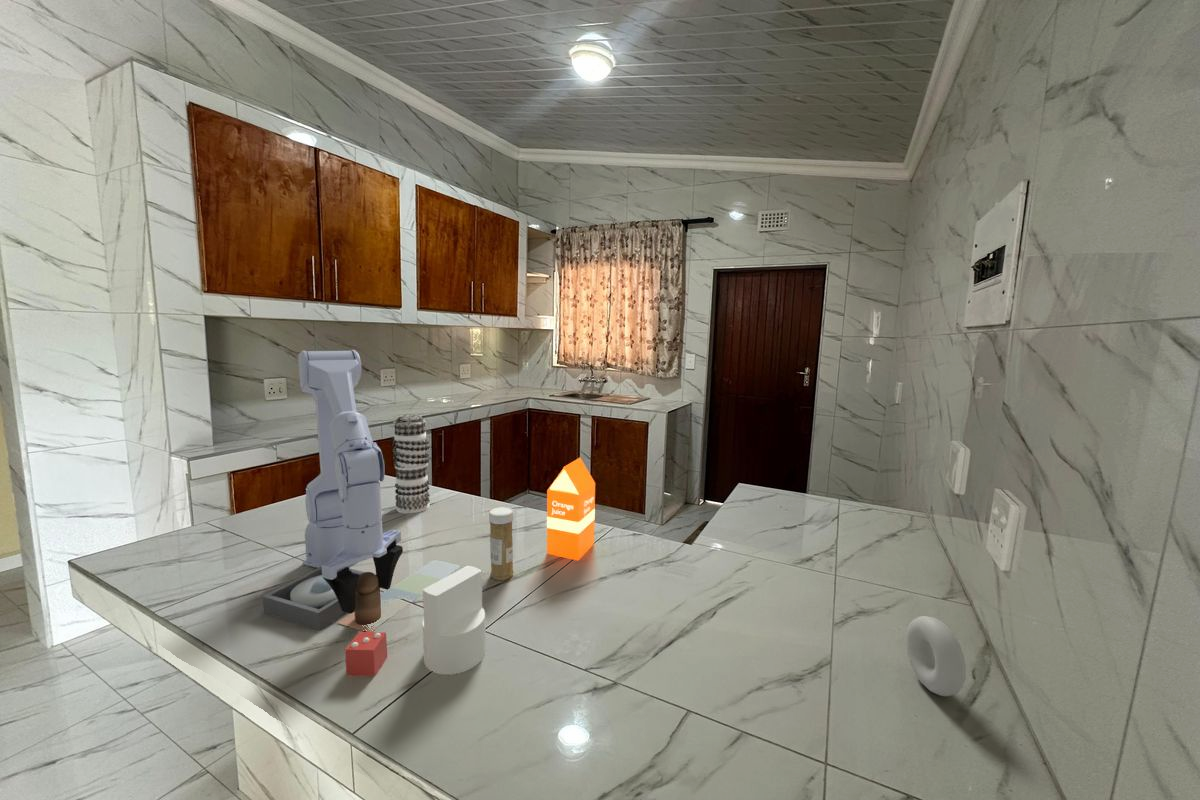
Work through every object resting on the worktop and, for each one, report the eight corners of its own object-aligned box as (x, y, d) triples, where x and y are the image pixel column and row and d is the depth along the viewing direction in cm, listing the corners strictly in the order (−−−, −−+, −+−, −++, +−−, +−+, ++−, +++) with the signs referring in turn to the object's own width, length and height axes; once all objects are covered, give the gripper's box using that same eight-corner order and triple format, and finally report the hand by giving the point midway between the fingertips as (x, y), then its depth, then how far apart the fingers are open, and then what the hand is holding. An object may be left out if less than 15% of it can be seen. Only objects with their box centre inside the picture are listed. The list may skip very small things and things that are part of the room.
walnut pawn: (349, 621, 82) (346, 576, 80) (368, 608, 85) (366, 565, 84) (367, 627, 80) (365, 581, 79) (386, 614, 84) (384, 570, 83)
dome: (277, 608, 84) (275, 586, 84) (327, 580, 94) (326, 561, 93) (320, 621, 81) (319, 599, 80) (368, 591, 90) (367, 571, 90)
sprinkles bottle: (517, 577, 97) (516, 512, 95) (495, 583, 95) (494, 516, 93) (508, 567, 101) (507, 504, 99) (486, 573, 98) (485, 509, 96)
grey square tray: (263, 612, 84) (262, 596, 83) (328, 577, 96) (327, 562, 95) (319, 630, 79) (318, 613, 79) (380, 590, 91) (379, 575, 91)
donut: (897, 662, 74) (904, 601, 73) (920, 663, 74) (928, 602, 73) (940, 714, 65) (950, 644, 63) (967, 715, 65) (977, 645, 63)
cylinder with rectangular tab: (452, 683, 68) (450, 603, 66) (410, 659, 73) (407, 584, 71) (498, 648, 76) (497, 575, 74) (457, 628, 81) (455, 559, 79)
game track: (337, 623, 81) (337, 622, 81) (433, 560, 103) (433, 559, 103) (370, 633, 79) (370, 632, 79) (461, 566, 101) (461, 565, 101)
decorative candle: (387, 512, 128) (382, 418, 125) (406, 500, 137) (403, 412, 134) (419, 515, 127) (416, 420, 123) (437, 502, 136) (434, 413, 132)
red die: (346, 675, 69) (344, 646, 69) (360, 656, 73) (358, 629, 73) (374, 676, 69) (373, 647, 69) (387, 657, 73) (385, 629, 73)
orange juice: (546, 553, 107) (546, 465, 104) (564, 538, 115) (565, 455, 112) (578, 560, 104) (580, 469, 101) (594, 544, 113) (596, 459, 109)
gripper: (344, 544, 72) (349, 629, 74) (413, 510, 86) (416, 582, 88) (309, 536, 74) (315, 618, 77) (381, 504, 88) (385, 575, 90)
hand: (367, 598), depth 82 cm, fingers open, 7 cm apart
